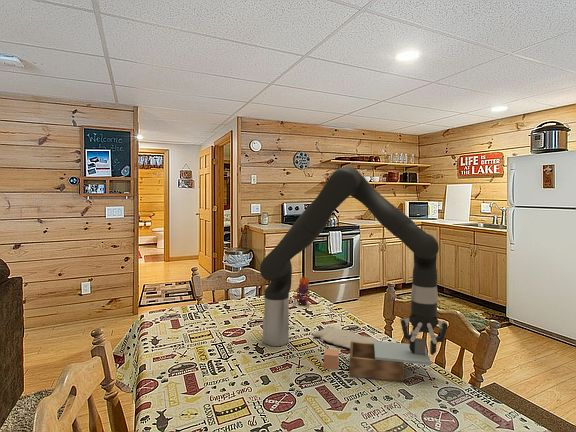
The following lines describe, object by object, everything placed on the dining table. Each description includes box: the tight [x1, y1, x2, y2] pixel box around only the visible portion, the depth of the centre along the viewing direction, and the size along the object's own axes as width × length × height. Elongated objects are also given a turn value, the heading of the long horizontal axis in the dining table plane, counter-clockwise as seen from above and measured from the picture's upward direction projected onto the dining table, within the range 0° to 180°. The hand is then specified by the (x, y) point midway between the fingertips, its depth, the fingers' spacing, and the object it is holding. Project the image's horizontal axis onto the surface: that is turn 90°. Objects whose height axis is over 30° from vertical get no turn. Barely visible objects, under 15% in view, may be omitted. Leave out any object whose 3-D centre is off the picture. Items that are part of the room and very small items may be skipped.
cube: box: [323, 348, 340, 370], centre depth 115 cm, size 4×4×4 cm
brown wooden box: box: [348, 342, 405, 383], centre depth 112 cm, size 16×12×6 cm
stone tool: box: [312, 325, 379, 349], centre depth 132 cm, size 13×4×25 cm
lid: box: [374, 337, 432, 366], centre depth 110 cm, size 16×12×5 cm
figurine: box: [291, 275, 311, 307], centre depth 175 cm, size 8×9×15 cm
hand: (422, 352), depth 108 cm, fingers open, 5 cm apart
